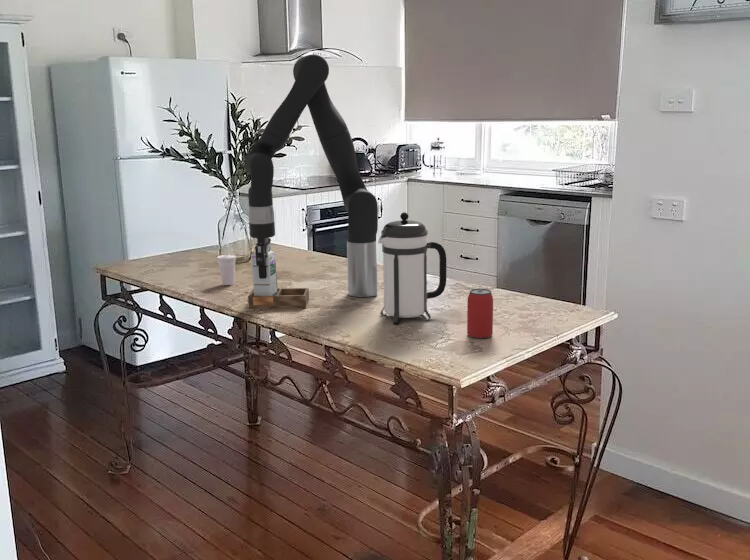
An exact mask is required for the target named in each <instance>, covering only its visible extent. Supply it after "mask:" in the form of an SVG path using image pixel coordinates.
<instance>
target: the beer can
mask: <svg viewBox="0 0 750 560" xmlns="http://www.w3.org/2000/svg"><path fill="white" fill-rule="evenodd" d="M466 309H467V312H466V313H467V319H466V321H467V322H466V323H467V324H466V327H467V328H466V329H467V330H466V333H467V336H468V337H471V338H473V339H478V340H480V339H481V340H482V339H483V340H484V339H488V338H491V336H493V333H494V331H493V327H494V325H493V324H494V323H493V322H494V297H493V294H492V290H491V289H489V288H488V289H487V288H481V287H479V288H478V287H477V288H472V289H470V290H469V293H468V296H467V308H466Z"/></svg>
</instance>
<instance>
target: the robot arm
mask: <svg viewBox="0 0 750 560" xmlns="http://www.w3.org/2000/svg"><path fill="white" fill-rule="evenodd" d="M329 67H330V66H329V64H328V61H327V60H326V58H324V57H323V56H321V55H319V54H312V53H311V54H308V55H305V56H302V57H300V58H298V59H297V60H296V61H295V63H294V65H293V69H292V75H293V78H294V82H293V85H292V87H291V88H290V90H289V93H288V94H287V95H286V96H285V98H284V99H283V101H282V103H281V104H280V105H279V107H278V108H277V109H276V110H275V111H274V113H273V114H272V116H271V117H270V119H269V121H268V122H267V124H266V126H265V128H264V130H263V132H262V134H261V135H260V137H259V139H257V141H256V142H255V143H254V144H253V146H252V147H251V149H250V150H249V151H248V152H247V155H246V157H245V158H244V163H243V166H244V170H245V172H247V174H248V175H250V186H249V188H248V193H247V196H248V226H249V227H248V229H249V236H250V238H253V239H257V240H256V243H255V247H254V250H255V251H254V253H255V252H256V264H257V265H258V267H259V278H260V279H265V278H266V277H267V271H266V265H267V263H266V258H267V257H268V251H270V250H272V246H271V244H272V243H271V241H272V239H271V238H273V237H275V236H276V228H275V227H276V221H275V211H274V206H273V205H274V204H273V203H274V201H273V185H274V184H273V183H274V176H275V175H274V173H275V172H274V171H275V169H274V162H273V160H272V159H273V158H274V157H275V154H276V153H277V152H279V151H280V150H282V148H283V147H284V145H285V144H286V142H287V141H288V138H289V137H290V136H291V133H292V131H293V129H294V128H295V126H296V124H297V122H298V120H299V119H300V117H301V115H302V113H303V112H304V110H305V108H306V107H308V110H309V114H310V116H311V119H312V122H313V125H314V128H315V131H316V134H317V137H318V139H319V142H320V144H321V147H322V150H323V152H324V155H325V157H326V159H327V161H328V164H329V166H330V168H331V170H332V172H333V174H334V176H335V178H336V181H337V184H338V187H339V190H340V194H341V196H342V197H341V198H342V201H343V205H344V208H345V211H346V212H347V214H348V216H347V217H348V218H347V220H348V221H347V222H348V224H347V225H348V226H347V231H346V258H347V259H346V260H347V261H346V263H347V265H346V266H347V293H348V294H347V295H349V296H350V297H353V298H354V297H356V298H369V297H377V296H378V262H377V260H378V259H377V255H378V254H377V233H378V227H379V225H378V223H379V222H378V220H379V216H378V215H379V214H378V213H379V207H378V206H379V205H378V201H377V198H376V196H375V195H374V194H373V193H372V192H371V191H368V189H367V187H366V185H365V183H364V181H363V178H362V176H361V173H360V171H359V167H358V162H357V154H356V149H355V146H354V141H353V139H352V136H351V132H350V131H349V128H348V125H347V124H346V121H345V120H344V117H343V116H342V114H340V111H338V109H337V108H336V106H335V105H334V103H333V101H332V100H331V97H330V95H329V91H328V88H327V86H326V81H327V79H328V77H329V75H330V74H329V73H330V68H329ZM265 253H266V255H265ZM262 258H263V261H260V259H262Z"/></svg>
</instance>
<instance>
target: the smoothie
mask: <svg viewBox="0 0 750 560" xmlns="http://www.w3.org/2000/svg"><path fill="white" fill-rule="evenodd" d="M227 249H228V248H227V243H224V254H221V255H218V256H217V257H216V260H217V261H218V267H219V272H220V276H221V277H220V278H221V283H222V285H223V286H224V285H231V286H233V284H235V273H236V271H235V269H236V260H237V255H235V254H227V253H228V252H227V251H228V250H227Z"/></svg>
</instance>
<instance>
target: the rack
mask: <svg viewBox="0 0 750 560" xmlns="http://www.w3.org/2000/svg"><path fill="white" fill-rule="evenodd" d="M277 289H278V293H277V294H276V296H254V289H252V290H251V292H250V293H249V295H248V296H247V302H248V304H247V305H248V310H249V309H250V310H251V309H252V310H253V309H254V310H255V309H258V310H260V309H261V310H263V309H264V310H265V309H266V310H267V309H268V310H270V309H306V308H307V307H306V306H308V304H309V302H310V292H309V291H310V290H309V287H301V288H300V287H291V288H290V287H285V288H284V287H282V288H281V287H280V288H278V287H277Z"/></svg>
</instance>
